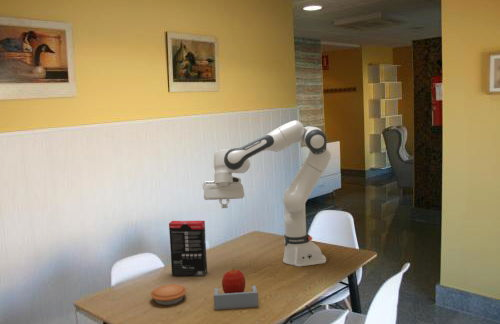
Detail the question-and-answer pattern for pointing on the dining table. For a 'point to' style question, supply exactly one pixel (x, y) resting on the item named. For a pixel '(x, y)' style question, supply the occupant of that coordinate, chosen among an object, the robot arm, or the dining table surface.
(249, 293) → the frame
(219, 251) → the dining table surface
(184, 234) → the graphics card box
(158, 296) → the pie
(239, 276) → the apple
